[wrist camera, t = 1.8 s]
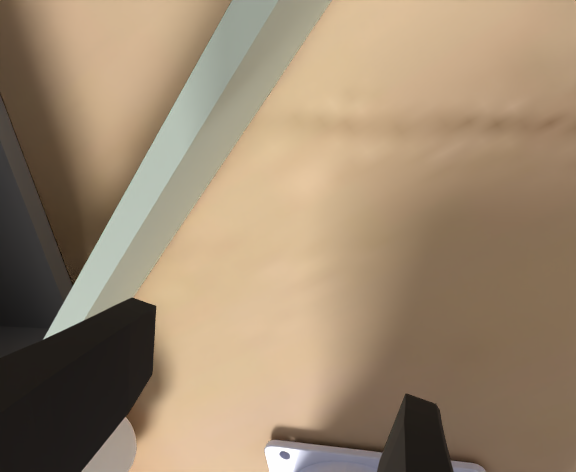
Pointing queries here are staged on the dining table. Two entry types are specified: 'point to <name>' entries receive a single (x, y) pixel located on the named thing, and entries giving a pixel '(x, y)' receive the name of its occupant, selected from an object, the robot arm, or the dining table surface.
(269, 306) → the dining table surface
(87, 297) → the door
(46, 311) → the cabinet
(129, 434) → the supplement bottle
